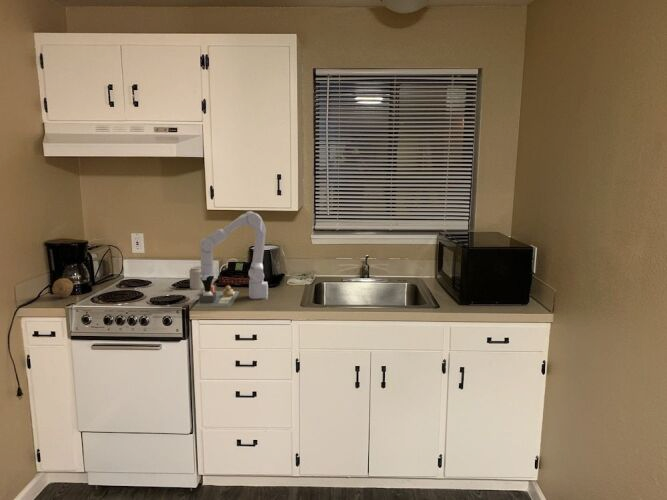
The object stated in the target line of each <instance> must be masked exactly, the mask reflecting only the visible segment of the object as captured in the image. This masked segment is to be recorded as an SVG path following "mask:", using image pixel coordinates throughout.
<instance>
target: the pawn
mask: <svg viewBox="0 0 667 500" xmlns="http://www.w3.org/2000/svg"><path fill="white" fill-rule="evenodd" d="M222 291H223V296H224V297H232V296H233V291H234V289H233V288H232V287H231V286H230V285H226V286H225V287H224V289H222Z"/></svg>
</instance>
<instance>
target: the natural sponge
mask: <svg viewBox="0 0 667 500" xmlns="http://www.w3.org/2000/svg"><path fill="white" fill-rule="evenodd" d="M73 289H74V284H73V282H72V280H71V279H69V278H64V277H61V278H58V279H57V280H55V281H54V283H53V284H52V288H51V290H52V293H53V294H54V295H55V296H58V297H60V298H63V299H66V298H68V297H69V296H70V295H71V293H73Z"/></svg>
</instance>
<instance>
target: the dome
mask: <svg viewBox="0 0 667 500" xmlns="http://www.w3.org/2000/svg"><path fill="white" fill-rule="evenodd" d="M203 292H204V293H203V296H213V293H212V292H211V291H210V292H205V291H203Z"/></svg>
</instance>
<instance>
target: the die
mask: <svg viewBox="0 0 667 500" xmlns="http://www.w3.org/2000/svg"><path fill="white" fill-rule="evenodd" d="M210 291H211V292H214V291H215V285H214V284H211V289H210Z"/></svg>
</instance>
